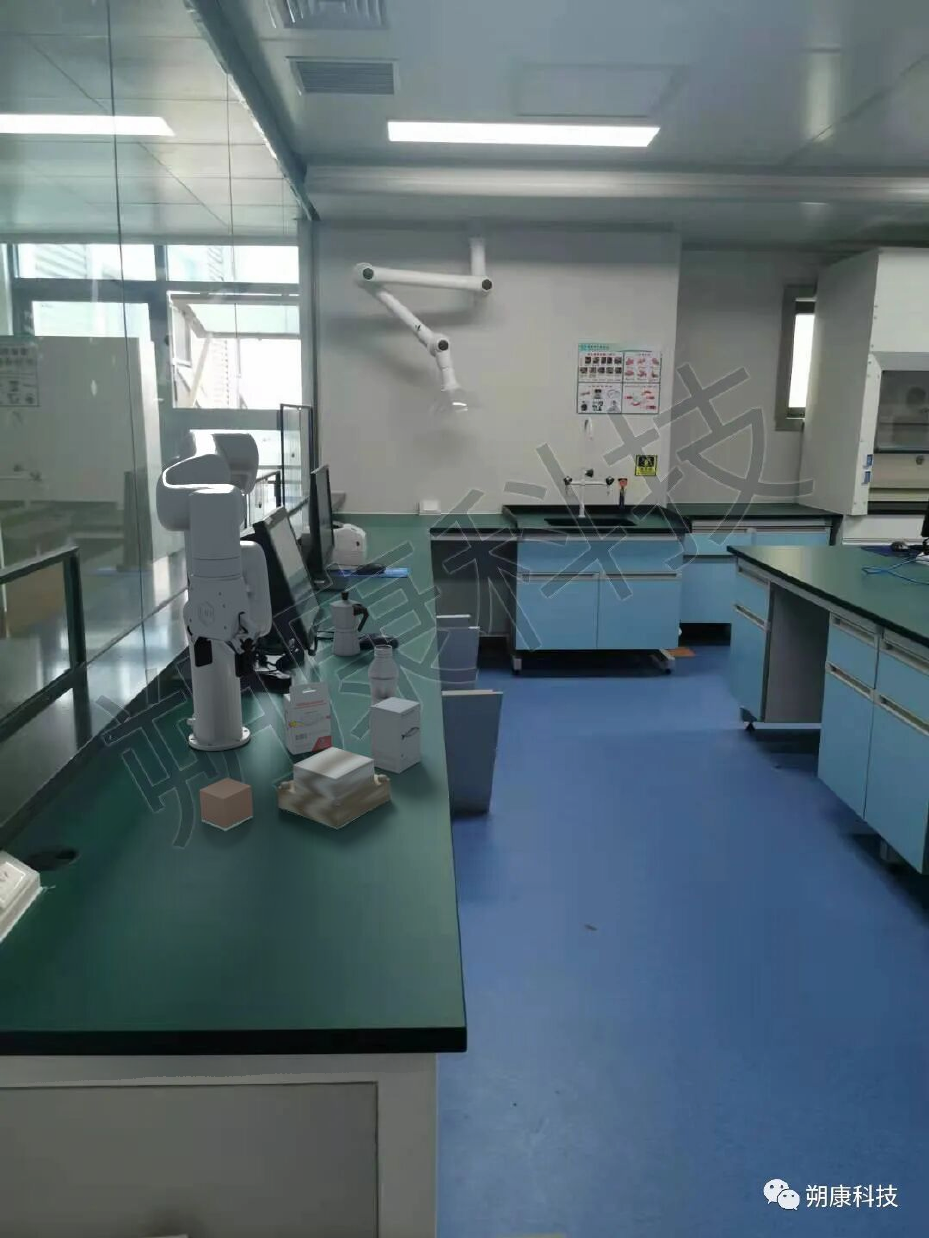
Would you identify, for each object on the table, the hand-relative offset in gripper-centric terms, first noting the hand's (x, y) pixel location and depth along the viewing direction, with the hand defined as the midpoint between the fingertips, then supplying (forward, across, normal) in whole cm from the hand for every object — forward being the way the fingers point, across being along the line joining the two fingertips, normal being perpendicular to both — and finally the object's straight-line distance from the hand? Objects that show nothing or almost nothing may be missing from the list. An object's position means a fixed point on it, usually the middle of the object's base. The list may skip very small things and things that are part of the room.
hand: (223, 670), depth 138 cm
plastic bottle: (+27, -2, +44) cm, 52 cm away
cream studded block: (+27, +11, +14) cm, 32 cm away
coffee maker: (+26, -51, +88) cm, 105 cm away
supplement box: (+27, +9, +34) cm, 44 cm away
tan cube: (+27, 0, -1) cm, 27 cm away
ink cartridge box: (+27, -11, +30) cm, 42 cm away
